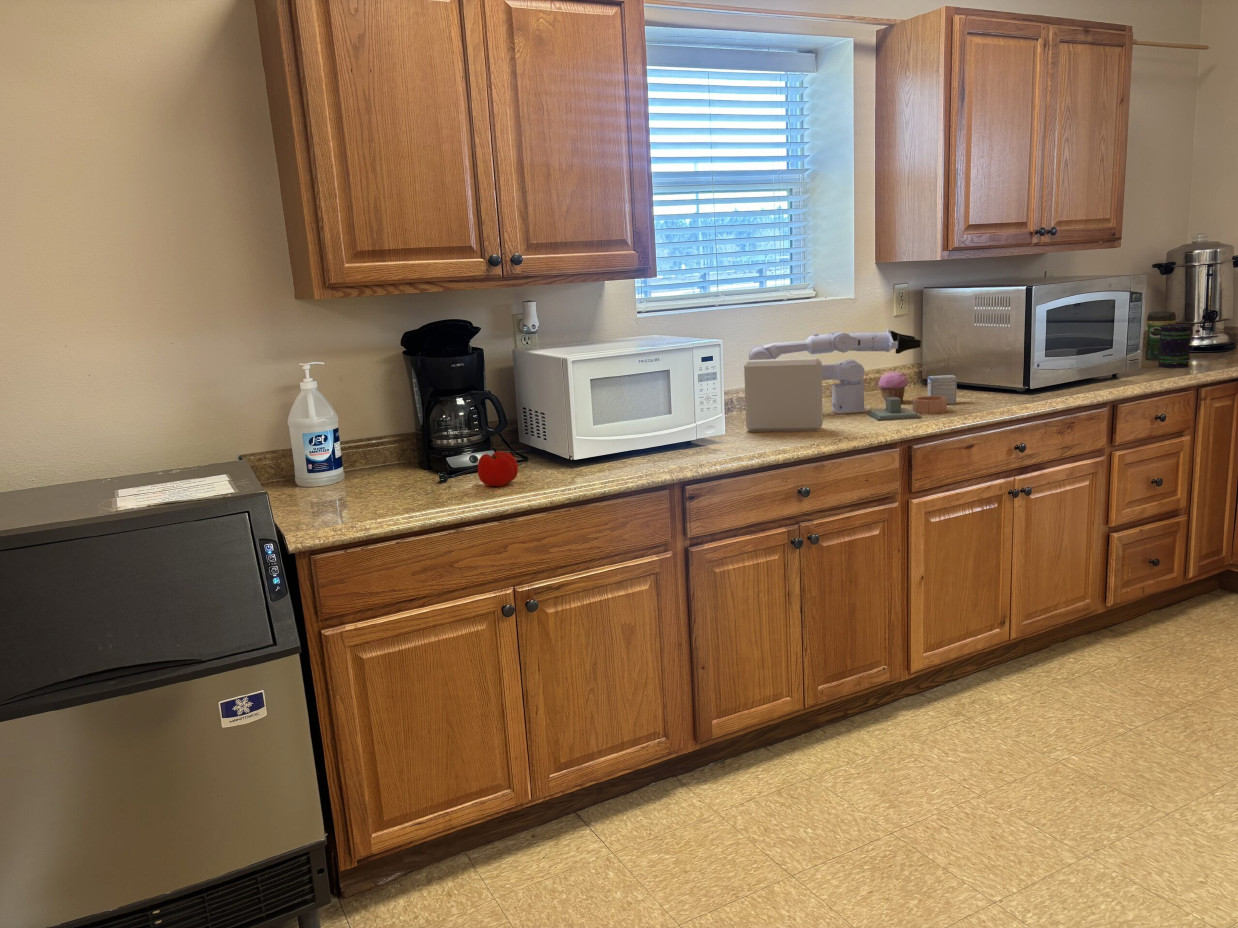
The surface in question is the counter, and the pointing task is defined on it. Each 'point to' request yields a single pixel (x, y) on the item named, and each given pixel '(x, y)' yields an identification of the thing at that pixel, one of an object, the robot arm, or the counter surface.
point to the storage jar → (1174, 346)
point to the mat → (892, 418)
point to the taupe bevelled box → (783, 395)
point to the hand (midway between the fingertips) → (917, 342)
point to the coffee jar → (1157, 331)
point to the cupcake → (893, 385)
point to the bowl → (930, 404)
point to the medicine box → (943, 387)
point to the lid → (893, 409)
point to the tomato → (497, 468)
